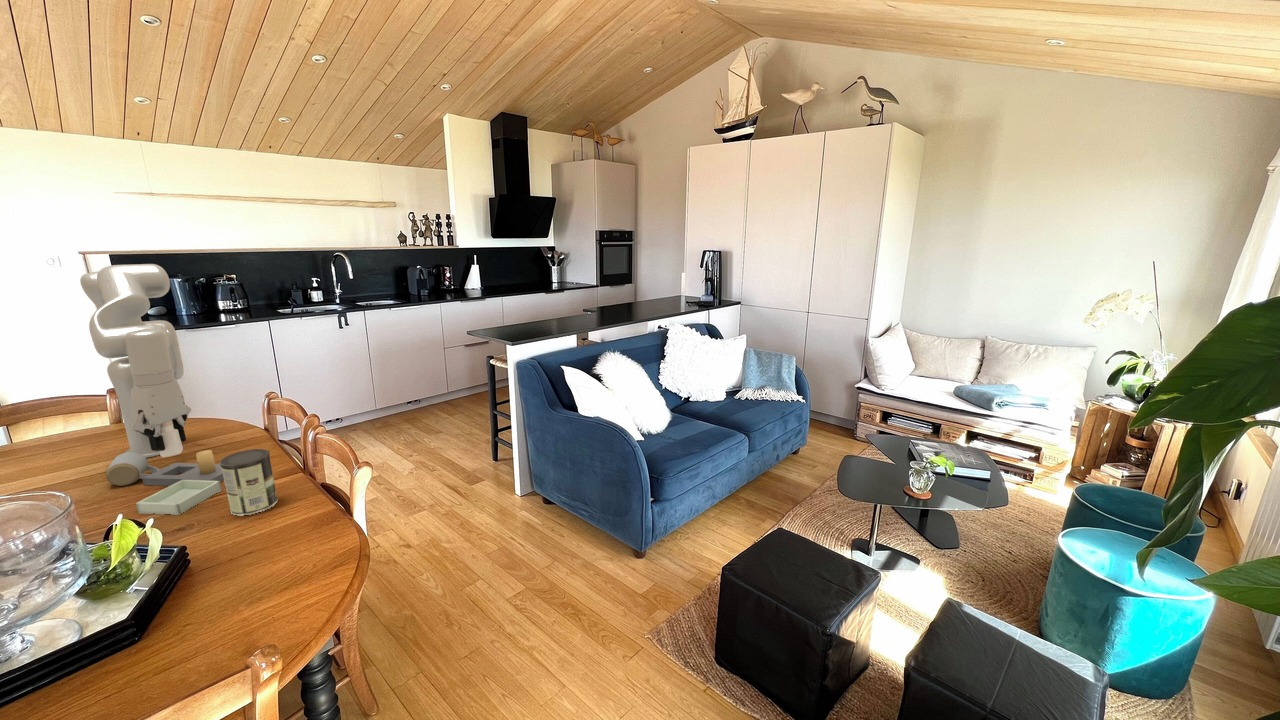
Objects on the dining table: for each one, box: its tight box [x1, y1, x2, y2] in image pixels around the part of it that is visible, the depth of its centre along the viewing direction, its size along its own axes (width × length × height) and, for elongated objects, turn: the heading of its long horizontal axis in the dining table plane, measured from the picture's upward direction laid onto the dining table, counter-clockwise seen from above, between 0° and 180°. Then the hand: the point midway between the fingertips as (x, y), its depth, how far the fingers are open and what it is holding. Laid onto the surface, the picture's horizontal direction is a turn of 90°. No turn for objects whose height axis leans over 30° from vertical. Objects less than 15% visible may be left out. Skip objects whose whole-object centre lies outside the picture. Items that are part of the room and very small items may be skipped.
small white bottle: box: [159, 420, 184, 458], centre depth 135 cm, size 4×4×10 cm
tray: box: [135, 480, 223, 516], centre depth 139 cm, size 13×11×3 cm
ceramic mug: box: [105, 451, 161, 487], centre depth 150 cm, size 11×8×8 cm
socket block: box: [141, 449, 224, 487], centre depth 151 cm, size 10×20×8 cm, turn 87°
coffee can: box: [219, 448, 279, 517], centre depth 135 cm, size 10×10×14 cm
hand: (169, 444), depth 135 cm, fingers closed on small white bottle, 5 cm apart
